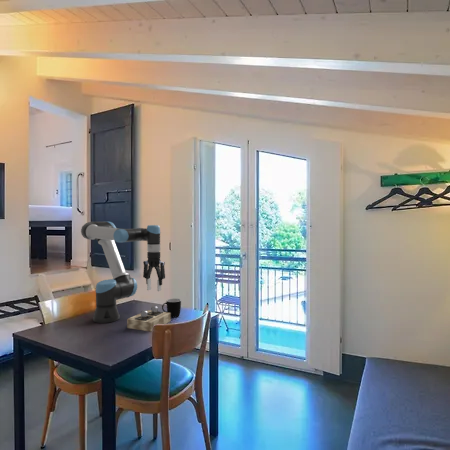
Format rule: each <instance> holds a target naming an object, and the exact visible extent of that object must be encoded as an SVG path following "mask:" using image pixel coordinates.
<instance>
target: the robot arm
mask: <svg viewBox="0 0 450 450" xmlns="http://www.w3.org/2000/svg"><path fill="white" fill-rule="evenodd" d="M80 233H81V236H82V237H83V238H84V239H86V240H93V241H95V240H96V241H97V243H98V245H100V246H101V248H102V249H103V250H102V251H103V253H104V256H105V258H106V262H107V264H108V267H109V270H110V272H111V275H112V279H111V278H110V279H104V280H100V281H99V282H97V283H96V285H95V310H94V314H93V316H92V321H93V322H94V323H97V324H98V323H99V324H105V323H106V324H107V323H112V322H116V321H119V320H120V313H119V310H118V307H117V300H123V299H125V298H130V297H133V296H134V295H135V294H136V293H137V290H138V282H137V280H136V279H135V278H134V277H131V275H130V273H128V272H127V271H126V269H125V266H124V263H123V260H122V258H121V255H120V252H119V250H118V247H117V244H116V243H130V242H131V243H132V242H141V241H142V242H144V241H146V243H147V245H146V246H147V247H146V248H147V249H146V250H147V254H146V255H147V257H146V258H147V260H143V274H142V275H143V278H144V279H145V284H146V285H147V286H146V287H147V289H146V290H147V291H150V290H151V289H152V278H151V274H152V272H153V268H154V269H155V271H156V276H157V283H156V284H157V289H156V291H157V292H161V291H162V285H163V280H164V279H166V273H165V264H166V263H165V262H166V261H162V260H161V227H160V225H157V224H156V225H155V224H149V225H147V227H146V228H143V227H137V228H117V227H116V225H115V224H114V223H113V222H112V221H107V220H103V221H89V222H86V223H84V224H83V225H82V226H81V228H80Z"/></svg>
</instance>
